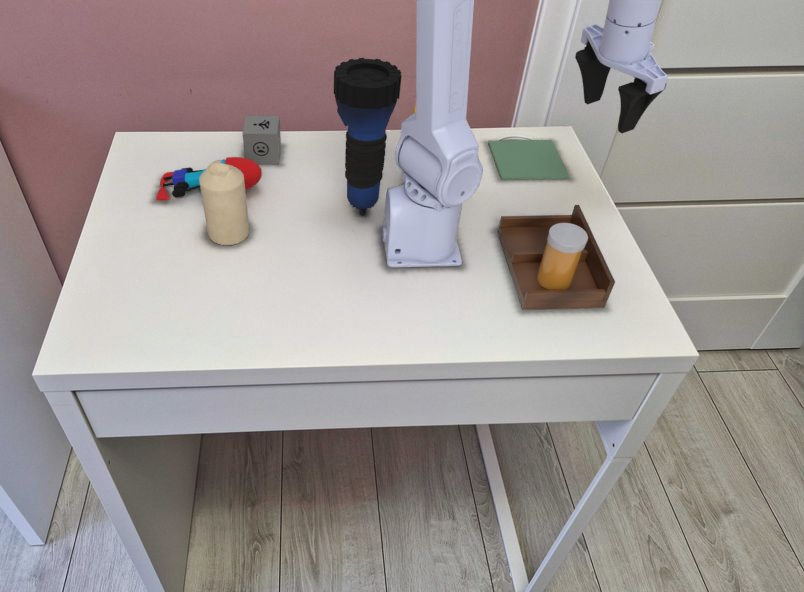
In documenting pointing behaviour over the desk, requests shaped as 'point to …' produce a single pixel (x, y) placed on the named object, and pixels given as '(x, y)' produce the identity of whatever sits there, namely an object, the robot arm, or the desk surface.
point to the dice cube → (262, 139)
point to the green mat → (527, 160)
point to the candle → (224, 203)
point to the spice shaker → (561, 256)
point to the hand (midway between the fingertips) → (608, 115)
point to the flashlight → (365, 123)
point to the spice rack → (525, 254)
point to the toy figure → (190, 179)
